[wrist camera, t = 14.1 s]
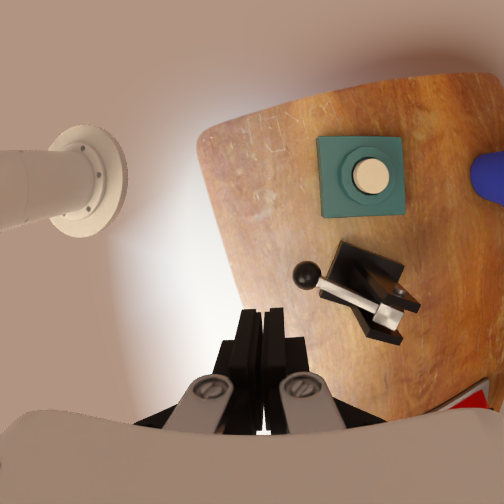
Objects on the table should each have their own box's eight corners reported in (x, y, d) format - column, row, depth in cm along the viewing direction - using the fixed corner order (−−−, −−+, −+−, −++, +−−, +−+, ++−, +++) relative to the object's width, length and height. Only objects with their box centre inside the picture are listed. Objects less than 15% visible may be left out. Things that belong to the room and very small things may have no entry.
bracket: (318, 294, 40) (335, 343, 27) (340, 240, 38) (369, 270, 25) (379, 312, 40) (411, 361, 27) (401, 263, 38) (446, 298, 25)
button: (353, 193, 32) (357, 194, 31) (351, 159, 31) (355, 158, 30) (384, 192, 32) (390, 193, 30) (382, 159, 31) (388, 158, 29)
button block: (321, 215, 37) (326, 220, 33) (315, 138, 34) (320, 134, 31) (398, 212, 36) (411, 216, 32) (394, 138, 33) (407, 135, 30)
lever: (293, 279, 34) (284, 285, 32) (303, 254, 34) (294, 258, 31) (393, 326, 29) (392, 337, 26) (405, 301, 28) (407, 310, 26)
